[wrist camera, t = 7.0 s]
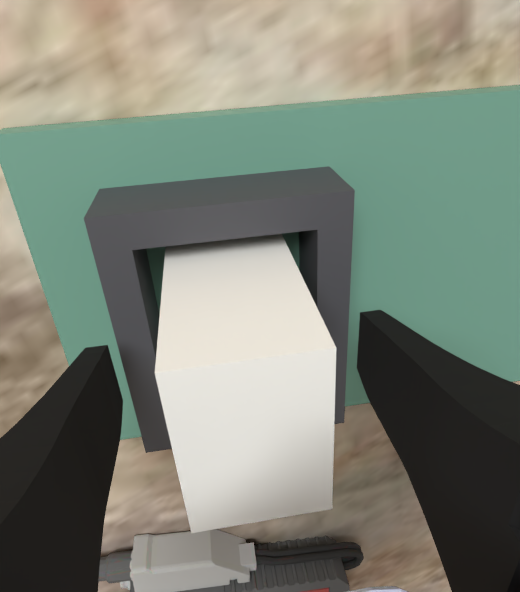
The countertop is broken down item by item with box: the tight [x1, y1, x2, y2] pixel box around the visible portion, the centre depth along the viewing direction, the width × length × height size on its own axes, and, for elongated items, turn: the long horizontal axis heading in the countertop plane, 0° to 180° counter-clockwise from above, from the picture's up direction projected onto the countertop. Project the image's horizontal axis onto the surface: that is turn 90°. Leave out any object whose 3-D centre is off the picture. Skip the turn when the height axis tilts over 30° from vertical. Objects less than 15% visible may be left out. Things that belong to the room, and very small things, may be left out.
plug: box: [155, 234, 336, 533], centre depth 13 cm, size 4×5×7 cm
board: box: [0, 85, 520, 453], centre depth 16 cm, size 20×12×4 cm, turn 93°
